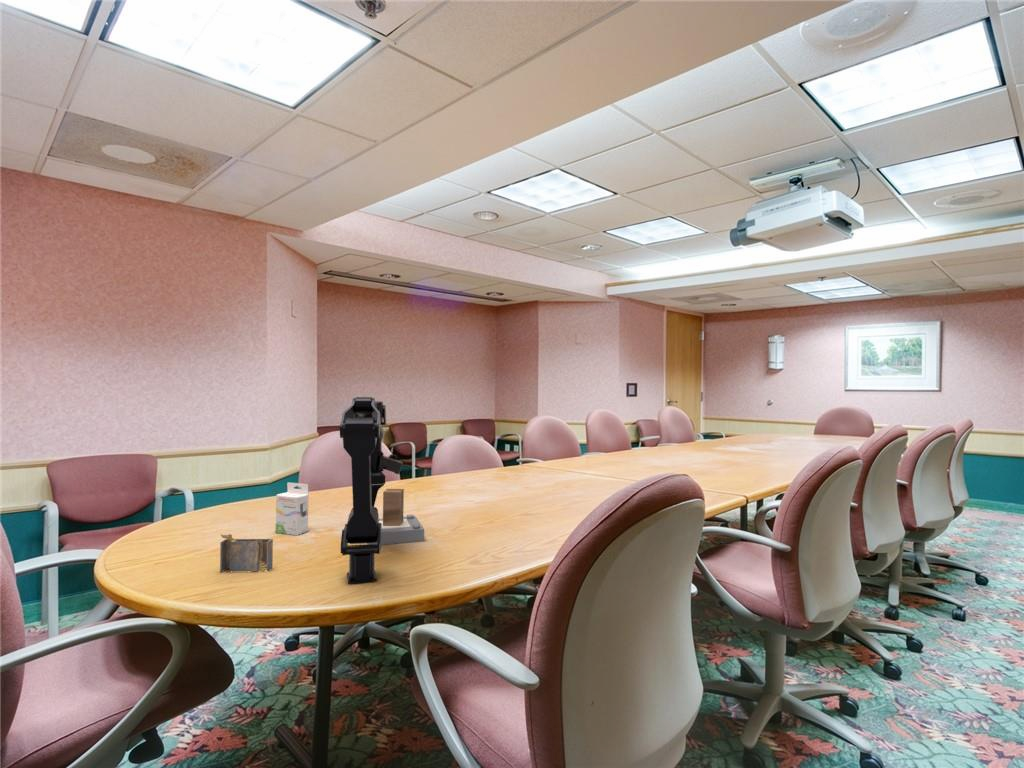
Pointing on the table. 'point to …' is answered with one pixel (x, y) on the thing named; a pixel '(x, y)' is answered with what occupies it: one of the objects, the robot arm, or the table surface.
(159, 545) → the table surface
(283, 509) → the ink box
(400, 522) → the walnut brick
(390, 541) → the base brick
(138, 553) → the table surface
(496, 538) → the table surface
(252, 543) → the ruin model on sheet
